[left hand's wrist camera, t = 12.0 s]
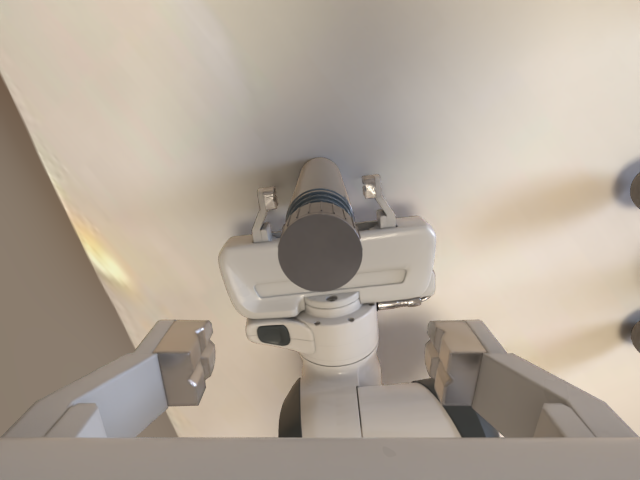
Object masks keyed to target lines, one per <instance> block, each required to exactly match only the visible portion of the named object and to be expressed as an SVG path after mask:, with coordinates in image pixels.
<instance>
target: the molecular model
mask: <svg viewBox="0 0 640 480" xmlns="http://www.w3.org/2000/svg"><path fill="white" fill-rule="evenodd" d="M630 195H631V198H632V200H633V202H634V204H635V205H636V206H637V207H638V208H639V209H640V173H639V174H638V175H637V176H636V177H635V178H634V180H633V182H632V184H631V188H630ZM631 339H632V342H633V345H634V346H635V348H636V349H637V351H639V352H640V321H638V322H637V323H636V324H635V325H634V327H633V329H632V331H631Z"/></svg>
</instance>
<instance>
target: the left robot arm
mask: <svg viewBox="0 0 640 480" xmlns="http://www.w3.org/2000/svg"><path fill="white" fill-rule="evenodd" d="M212 333H213V330H212V324H211V322H210V321H209V320H160V321H158V322H157V323H156V324H155V325H154V326H153V328H152V329H151V330H150V332H149V333H148V334H147V335H146V337H145V338H144V339H143V341H142V342H141V343H140V344H139V346H138V347H137V348H136V349H135V351H134V352H133V353H127V354H125V355H123V356H121V357H119V358H118V359H116V360H114V361H112V362H110V363H108V364H106V365H104V366H102V367H100V368H99V369H97V370H95V371H93V372H91V373H89V374H87V375H85V376H83V377H82V378H80V379H78V380H76V381H74V382H72V383H70V384H68V385H66V386H65V387H63V388H61V389H59V390H57V391H55V392H53V393H51V394H49V395H47V396H46V397H44V398H42V399H40V400H38V401H36V402H35V403H34V404H33V405H32V406H31V407H30V408H29V409H28V410H27V411H26V412H25V413H24V414H23V415H22V416H21V417H20V418H19V419H18V420H17V421H16V422H15V423H14V424H13V425H12V426H11V427H10V428H9V429H8V430H7V431H6V432H5V433H4V434H3V436H1V437H0V480H640V437H639V436H638V435H637V434H636V433H635V432H634V431H633V430H632V429H631V428H630V427H629V426H628V425H627V424H626V423H625V422H624V421H623V420H622V419H621V418H620V417H619V416H618V415H617V414H616V413H615V412H614V411H613V410H612V409H611V408H610V407H609V406H608V405H607V404H606V403H605V402H604V401H602V400H600V399H598V398H596V397H594V396H592V395H590V394H589V393H587V392H585V391H583V390H581V389H579V388H577V387H575V386H573V385H572V384H570V383H568V382H566V381H564V380H562V379H560V378H558V377H556V376H555V375H553V374H551V373H549V372H547V371H545V370H543V369H541V368H539V367H538V366H536V365H534V364H532V363H530V362H528V361H526V360H524V359H522V358H521V357H519V356H517V355H515V354H513V353H507V352H506V351H505V350H504V348H503V347H502V346H501V344H500V343H499V342H498V341H497V339H496V338H495V337H494V336H493V334H492V333H491V332H490V330H489V329H488V328H487V327H486V325H485V324H484V323H483V322H482V321H481V320H455V321H430V322H429V324H428V330H427V333H428V335H429V337H430V340H429V341H428V342H427V343H426V344H425V364H426V368H427V371H428V374H429V376H430V377H431V378H433V379H434V380H435V384H434V388H435V391H436V393H437V396H438V398H439V400H440V403H441V405H442V406H472V408H473V409H474V410H475V411H476V412H477V413H478V414H479V415H481V416H482V417H483V418H484V419H485V420H486V421H487V422H488V423H489V424H491V425H492V426H493V427H494V428H495V429H496V430H497V431H498V432H500V433H501V434H502V435H503V436H504V437H505V438H430V437H347V438H135V437H136V436H137V435H138V434H139V433H141V432H142V431H143V430H144V429H145V428H146V427H147V426H148V425H150V424H151V423H152V422H153V421H154V420H155V419H156V418H157V417H158V416H160V415H161V414H162V413H163V412H164V411H165V410H166V409H167V408H168V406H197V405H199V403H200V400H201V398H202V396H203V393H204V391H205V388H206V384H205V380H206V379H207V378H209V377H210V376H211V374H212V371H213V369H214V363H215V344H214V343H213V342H212V341H211V340H210V337H211V335H212Z"/></svg>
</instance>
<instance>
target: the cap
mask: <svg viewBox="0 0 640 480" xmlns="http://www.w3.org/2000/svg"><path fill="white" fill-rule="evenodd" d="M280 236H281V238H280V241H279V244H278V260H279V264H280V266H281V269H282V271H283V272H284V274H285V275H286V277H287V278H288V279H289V280H290V281H291V282H293V283H294V284H295V285H297V286H299V287H301V288H303V289H305V290H309V291H314V292H327V291H332V290H335V289H338V288H340V287H342V286H344V285H345V284H347V283H348V282H349V281H350V280H351V279H352V278H353V277H354V276H355V275H356V273H357V271H358V270H359V268H360V265H361V262H362V256H363V248H362V244H361V241H360V239H361V236H360V233H359V230H358V227H356V225H355V223H354V220H353V217H351V216H350V215H349V214H348V213H347V212H346V211H345V209H342V208H340V207H338V206H336V205H334V204H331V203H326V202H322V201H321V202H315V203H309V204H307V205H304V206H302V207H300V208H298V209H297V210H296V211H295V212H293V213H292V215H289V218H288V220H287V222H286V224H284V226H283V229H282V232H281V235H280Z"/></svg>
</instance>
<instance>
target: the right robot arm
mask: <svg viewBox="0 0 640 480" xmlns="http://www.w3.org/2000/svg"><path fill="white" fill-rule="evenodd" d="M362 183H363V184H364V186H363V195H364V196H365V198H375V199H376V201H377V202H378V204H379V205H380V206H381V208H382V209H383V210H377V220H375V221H366V222H357V223H355V225H356V227H358V230H359V233H360V236H361V239H360V241H361V244H362V248H363V256H362V262H361V265H360V268H359V270H358V271H357V273H356V275H355V276H354V277H353V278H352V279H351V280H350V281H349V282H348V283H347V284H345V285H344V286H342V287H340V288H338V289H335V290H332V291H327V292H314V291H309V290H305V289H303V288H301V287H299V286H297V285H295V284H294V283H293V282H291V281H290V280H289V279H288V278H287V277H286V275H285V274H284V272H283V271H282V269H281V266H280V264H279V260H278V244H279V241H280V238H281V236H280V235H281V232H282V231H277V232H271V227H270V223H269V222H268V223H264V220H265V217H266V215H267V212H268V210H272V209H276V208H277V206H278V199H277V196H276V195H275V194H276V188H275V187H265V188H259V189H258V191H257V196H258V201H259V207H260V210H259V212H258V215H257V218H256V220H255V223H254V226H253V228H252V234H251V235H242V236H234V237H231V238H230V239H229V240H228V241H227V242H226V243H225V244H224V246H223V247H222V249H221V251H220V253H219V256H218V262H219V267H220V271H221V275H222V278H223V281H224V284H225V287H226V290H227V292H228V295H229V297H230V300H231V302H232V304H233V306H234V307H235V309H236V310H237V311H238V312H239V313H240V314H241V315H242V316H244V317H246V318H247V322H246V335H247V338H248V339H249V340H250V341H251V342H254V343H258V344H264V345H270V346H276V347H281V348H286V349H290V350H293V351H297V352H299V354H300V356H301V358H302V361H303V368H302V378H299V379H298V380H297V381H296V382H295V384H294V385H293V387H292V388H291V390H290V392H289V393H288V395H287V397H286V398H285V400H284V403H283V405H282V409H281V413H280V419H279V438H347V437H430V438H501V437H500V433H499V432H498V431H497V430H496V429H495V428H494V427H493V426H492V425H491V424H489V423H488V422H487V421H486V420H485V419H484V418H483V417H482V416H481V415H479V414H478V413H477V412H476V411H475V410H474V409H473V408H472V406H442V405H441V403H440V400H439V398H438V396H437V393H436V391H435V388H434V384H435V380H434V379H433V378H429V379H423V380H417V381H413V382H411V383H403V384H390V385H382V378H381V367H380V363H379V360H378V358H377V356H376V352H377V348H378V344H379V333H378V318H377V311H378V310H386V309H394V308H398V307H403V306H404V307H406V306H408V307H415V306H419V305H421V302H423V301H425V300H427V299H429V298H430V297H431V296H432V295H433V294H434V292H435V273H434V270H433V265H434V259H435V249H436V233H435V231H434V229H433V228H432V226H431V225H430V224H429V223H428V222H427V221H425V220H424V219H423V218H422V217H420V216H410V217H402V218H396V216H395V213H394V212H393V210H392V209H391V207H390V206H389V204H388V203H387V201H386V200H385V199H384V197H383V196H382V189H381V178H380V176H379V174H375V175H367V176H362ZM420 297H422V298H420Z"/></svg>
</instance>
